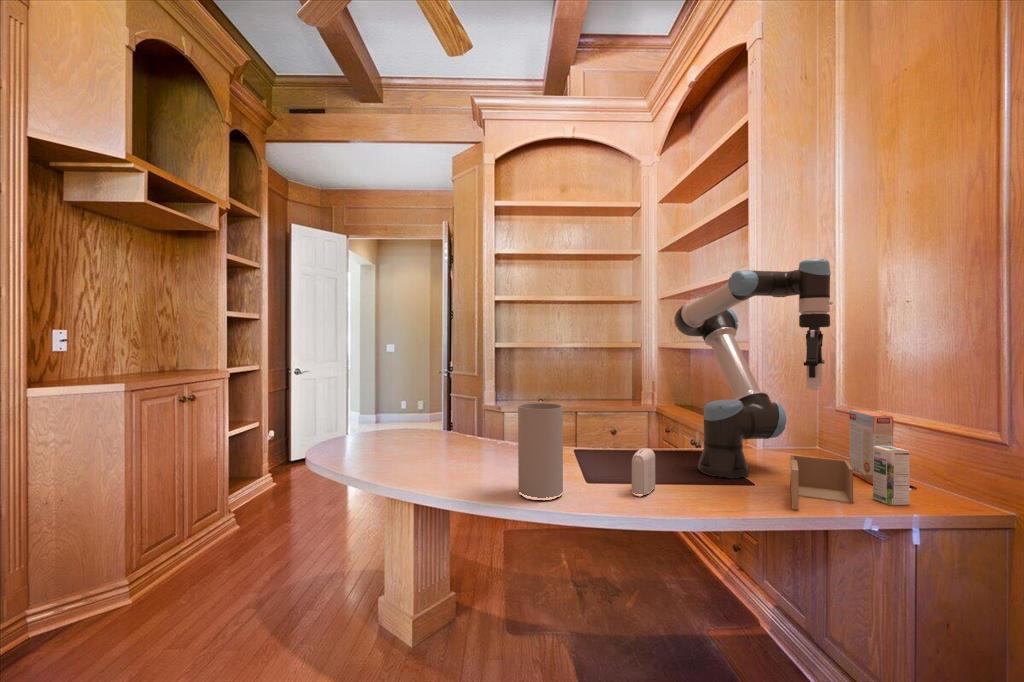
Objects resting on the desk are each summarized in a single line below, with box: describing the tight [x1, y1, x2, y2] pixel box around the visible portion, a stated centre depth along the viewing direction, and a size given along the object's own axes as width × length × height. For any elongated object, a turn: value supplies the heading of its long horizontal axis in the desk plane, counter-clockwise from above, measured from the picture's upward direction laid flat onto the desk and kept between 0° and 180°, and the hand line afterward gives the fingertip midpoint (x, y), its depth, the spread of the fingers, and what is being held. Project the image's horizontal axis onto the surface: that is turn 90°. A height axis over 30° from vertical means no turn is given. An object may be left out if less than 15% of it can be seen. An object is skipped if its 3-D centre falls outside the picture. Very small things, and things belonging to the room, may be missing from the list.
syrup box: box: [872, 446, 911, 506], centre depth 127 cm, size 6×6×14 cm
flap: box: [790, 459, 800, 511], centre depth 126 cm, size 12×2×10 cm, turn 151°
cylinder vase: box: [517, 402, 564, 498], centre depth 134 cm, size 12×12×25 cm
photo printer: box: [631, 447, 656, 495], centre depth 136 cm, size 10×4×12 cm, turn 144°
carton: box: [790, 454, 854, 504], centre depth 134 cm, size 14×11×9 cm
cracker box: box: [849, 409, 895, 485], centre depth 147 cm, size 14×6×21 cm, turn 168°
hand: (814, 387), depth 136 cm, fingers open, 13 cm apart
